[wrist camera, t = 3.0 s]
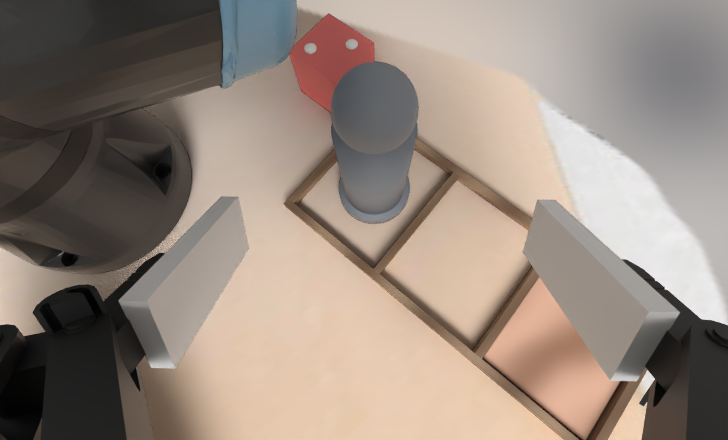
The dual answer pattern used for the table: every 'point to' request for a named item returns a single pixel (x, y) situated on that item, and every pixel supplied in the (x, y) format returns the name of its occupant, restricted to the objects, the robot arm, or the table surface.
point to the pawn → (374, 139)
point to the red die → (328, 57)
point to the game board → (512, 328)
